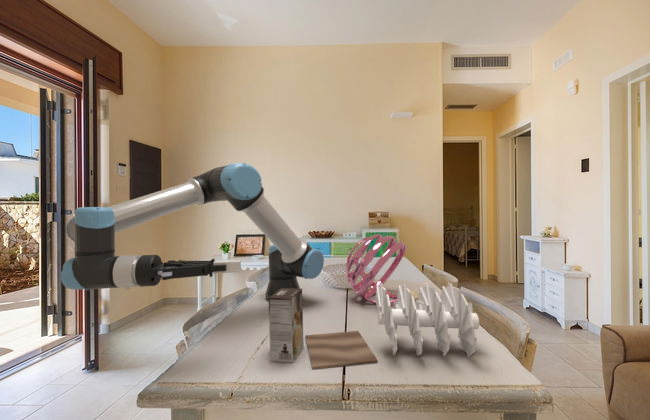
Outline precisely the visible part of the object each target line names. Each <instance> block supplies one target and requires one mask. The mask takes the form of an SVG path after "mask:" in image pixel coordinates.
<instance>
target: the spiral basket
mask: <svg viewBox="0 0 650 420" xmlns="http://www.w3.org/2000/svg"><path fill="white" fill-rule="evenodd" d="M375 239H376V241H375V244H373V246H372V247H371V248H370V249H369V246H370V243H371V242H372V241H373V240H375ZM387 242H388V244H387V246H386V249H385V251H384V253H383V254H382V255H381V256H380V258H379V259H378V260H377V261H376V262H375V264H374V265H373V266H372V268H371V269H370V271H369V272H368V273H366V272H365V269H366V268H367V267H368V266H369V264H370V263H371V262H372V261H373V259H374V258H375V257H376V255H377V254H378V252H379V250H380V249H381V247H382V246H383V245H385V243H387ZM358 246H359V247H358ZM367 249H369V250H368V251H367ZM366 251H367V252H366ZM397 251H398V252H397ZM406 251H407V245H406V243H404V242H403V241H398V242H397V241H396V238H395V237H394V236H392V235H385V236H383V235H382V234H380V233H378V234H373V235H371V236H366V237H363V238H362V239H360V240H359V241H358V242H356V243H355V245H354V246H353V247H352V249H351V250H350V252H349V254H348V256H347V259H346V263H345V265H346V268H345V274H346V278H347V282H348V283H349V286H350V287H351V289H352V291H353V292H354V293H355V294H356V295H357V296H358V297H359V298H361V299H362V300H363V301H365V302H367V303H371V304H375V305H376V300H372V299H370V298H371V297H372V296H373V295H376V287H377V286H378V287H379V286H380V283H382V286H384V285H385V283H386V282H387V280H388V279H389V278H391V275H393V273H394V272H395V270H396V269H397V268H398V266H399V264H400V263H401V261H402V259H403V257H404V256H405V254H406ZM365 252H366V253H365ZM395 253H397V254H396V256H395V258H394V260H393V261H392V263H391V264H390V266H389V267H388V269H387V270H386V271H385V273H384V274H383V275H382V276H381V277H380V279H379V280H378V281H376V282H374V281H373V280H374V279H375V277H376V276H377V275H378V273H379V272H380V270H382V268H383V267H384V265H385V264H386V263H387V262H388V261H389V260H390V259H391V258H392V257H393V256H394V254H395ZM360 259H361V260H360ZM359 260H360V261H359ZM354 264H355V269H354V270H353V271H351V269H352V266H353V265H354ZM350 271H351V272H350ZM359 275H360V276H361V280H360V281H359V282H357V280H358V278H359ZM356 282H357V283H356ZM369 287H370V289H369ZM368 289H369V290H368ZM367 290H368V291H367ZM386 294H388V295H389V298H392V299H393V300H390V305H392V304H394V302H398V298H397V294H395V293H391V292H389V291H387V290H386Z"/></svg>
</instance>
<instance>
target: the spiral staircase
mask: <svg viewBox="0 0 650 420" xmlns="http://www.w3.org/2000/svg"><path fill="white" fill-rule="evenodd" d="M422 287H423V288H422ZM386 291H387V289H386V288H385V287H384V285H382V283H380V286H379V287H378V286H377V287H376V293H375V301H376V304H375V305H376V313H377V324H378V325H383V326H384V328H385V329H384V330H385V331H386V335H387V336H388V338H389V340H390V343H391V349H392V356H396V353H397V351H398V335H397V329H398V326H403V327H405V326H406V327H408V329H409V334H410V336H411V337H412V339H413V349H415V351H416V352H415V353H416V357H420V355H421V356H422V352H423V345H424V340H423V337H422V330H421V327H422V328H423V327H424V328H425V327H426V328H434V333H435V338H436V340H437V342H438V351H440V352H442V355H443V356H444V357H446V355H447V354H448V352H449V351H450V341H451V340H450V339H451V333H450V332H449V329H457V330H458V334H457V337H458V339H459V340H460V342H461V350H462V351H463V352H466V355H467V358H471V356H473V354H475V353H476V348H477V341H478V337H477V336H476V334H475V330H478V329H479V327H480V319H479V315H478V314H477V313H476V312H474V310H473V303H472V302H468V301H467V299H466V297H465V296H464V294H463V293H461V289H460V288H458V287H455V286H453V283H452V282H450V283H449V284H448V285H447V286H446V287H445V286H444V285H443V286H441V290H440V291H441V292H440V295H439V293H438V292H437V291H435V287H434V286H429V283H428V282H425V284H424V285H423V286H420V287H419V290H418V295H419V296H418V300H419V301H418V300H416V305H415V301H414V297H411V292H410V291H411V290H410V289H409V288H407V284H406V283H404V284H403V285H400V284H399V285H398V287H397V293H396V295H397V298H396V299H398V301H397V302H394V303H393V304H394V305H393V306H394V308H391V304H390V301H391V300H390V297H389V295H388V294H386Z"/></svg>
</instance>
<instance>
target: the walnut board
mask: <svg viewBox="0 0 650 420" xmlns="http://www.w3.org/2000/svg"><path fill="white" fill-rule="evenodd" d="M305 343H306V346H307V351H308V355H309V360H310V365H311V368H312V370H320V369H321V370H322V369H328V368H329V369H331V368H339V367H348V366H349V367H350V366H358V365H367V364H377V363H378V361H379V360H378V358H377V357H376V355H375V354H374V352H373V351H372V349H371V348H370V346H369V345H368V343H367V342H366V341H365V339H364V337H363V336H362V335H361V333H360V332H359V330H352V331H351V330H350V331H342V332H341V331H340V332H339V331H338V332H327V333H317V334H316V333H315V334H307V335H306V334H305Z"/></svg>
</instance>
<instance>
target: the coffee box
mask: <svg viewBox="0 0 650 420" xmlns="http://www.w3.org/2000/svg"><path fill="white" fill-rule="evenodd" d="M303 309H304V308H303V288H300V289H290V288H281V289H279V290H278V291H277V292H276V293H274V294H273V295H272V296H270V297H269V301H268V318H269V319H268V325H269V327H268V328H269V329H268V330H269V356H270V357H269V360H270V361H271V362H279V363H280V362H282V363H292V364H293V363H294V362H295V361H296V359H297V358H298V356H299V354H300V353H301V351H302V350H303V348H304V316H303V315H304V312H303V311H304V310H303Z"/></svg>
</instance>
